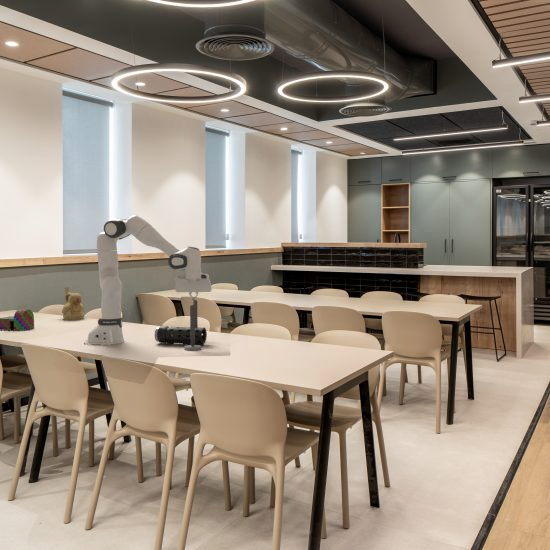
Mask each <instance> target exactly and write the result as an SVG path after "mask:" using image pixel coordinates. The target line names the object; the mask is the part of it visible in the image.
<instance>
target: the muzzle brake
mask: <svg viewBox="0 0 550 550" xmlns="http://www.w3.org/2000/svg"><path fill="white" fill-rule="evenodd" d="M207 334H208V333H207V329H206V327H198V328H195V345H200V346H204V344H206V342H207V337H208V336H207ZM154 340H155V341H156V343H157V342H158V343H160V344H167V345H172V344H173V345H175V344H182V345H183V346H185V345H191V344H190V326H184V327H183V326H181V327H180V326H167V325H160V326H157V327H156V328H155V330H154Z"/></svg>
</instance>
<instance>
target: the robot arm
mask: <svg viewBox="0 0 550 550" xmlns="http://www.w3.org/2000/svg"><path fill="white" fill-rule="evenodd" d="M129 236H133V237H134V238H135V239H136V240H138V241H139V242H140V243H141V244H143V245H145V246H147V247H150V248H155V249H158V250H160V251H162V252H163V253H164V254H165V255H167V256H168V260H167V263H168V265H169V267H170V268H171V269H173V270H176V271H180V270H181V271H182V270H183V271H185V275H177V276H175V278H174V284H175V289H174V291H175V292H176V293H188V295H189V296H190V301H194V300H197V297H198V296H199V293H211V292H213V289H212V288H213V287H212V281H211V280H210V275H209V274H207V273H205V272H202V268H201V267H202V266H201V265H202V256H201V250H200V249H199V248H198V247H195V246H186V247H185V248H184V249H182V250H179V249H178V248H177V247H175V246H174V245H173V244H171V242H169V241H168V240H167V239H166V238H165V237H163V236H162V234H160V232H158V231H157V229H156V228H154V226H152V224H150V223H149V222H148V221H147V220H145V219H144V218H142V217H140V216H138V215H131V216H129V218H127V219H124V218H115V219H114V218H113V219H109V220H107V221H106V222H105V223H104V225H103V232H100V233H99V234H98V235H97V237H96V253H97V262H98V263H97V264H98V279H99V287H100V290H101V299H100V300H101V302H100V304H101V305H100V309H101V310H100V313H101V317H99V318H98V320H97V326H95V327H94V328H93V329H91V330H90V331H89V332H88V335H87V340H85V341H83V344H84V343H85V344H84V345H86V344H101V345H102V346H110V344H112V345H116V343H118V344H122V342H123V343H125V342H124V341H125V338H124V334H123V317H122V294H123V293H122V291H123V284H122V283H123V282H122V280H121V279H120V276H119V275H120V274H119V273H120V272H119V266H120V265H119V256H118V245H117V242H118V241H119V240H122V239H125V238H127V237H129ZM193 293H195V295H194V296H192V294H193ZM101 345H100V346H101Z"/></svg>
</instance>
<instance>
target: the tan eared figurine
mask: <svg viewBox="0 0 550 550" xmlns="http://www.w3.org/2000/svg"><path fill="white" fill-rule="evenodd" d="M64 291H65V295H64V302H65V304H64V305H63V308H62V310H61V314H63V315H62V318H63V320H65V321H77V320H78V321H79V320H83V319H85V314H84V313H85V308H84V305H83V304H82V303H81V302H82V295H81V294H80V293H78V292H74V293H73V292H70V287H64Z"/></svg>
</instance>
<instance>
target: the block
mask: <svg viewBox="0 0 550 550" xmlns="http://www.w3.org/2000/svg"><path fill="white" fill-rule="evenodd" d="M12 326H13V331H14V332H25V330H26V331H31V330H34V329H35V316H34V312H33V311H32V310H31V309H21V308H19V309H18V310H16V311H15V313H14V315H13V316H12V315H11V316H4V317H0V330H4V332H5V331H6V332H7V331H10V330H11V331H12ZM11 331H10V332H11Z"/></svg>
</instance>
